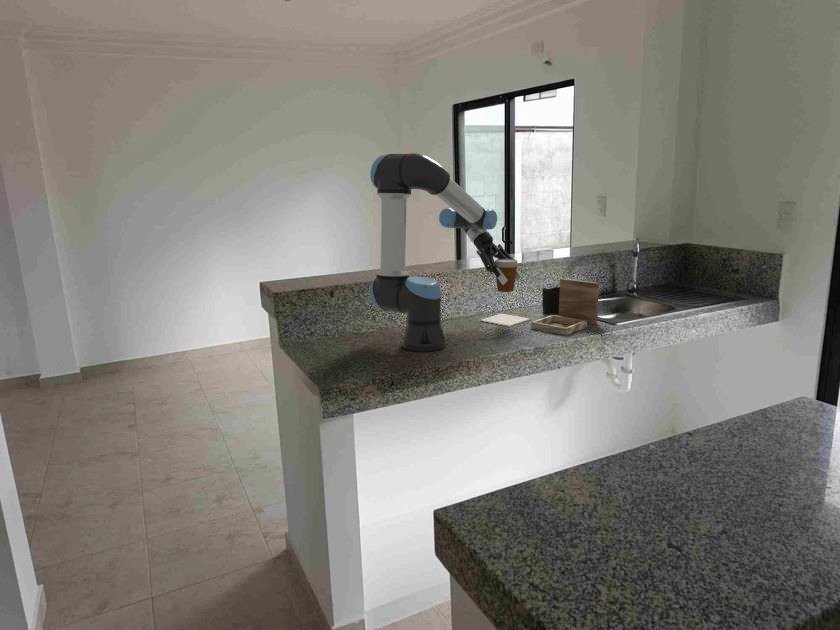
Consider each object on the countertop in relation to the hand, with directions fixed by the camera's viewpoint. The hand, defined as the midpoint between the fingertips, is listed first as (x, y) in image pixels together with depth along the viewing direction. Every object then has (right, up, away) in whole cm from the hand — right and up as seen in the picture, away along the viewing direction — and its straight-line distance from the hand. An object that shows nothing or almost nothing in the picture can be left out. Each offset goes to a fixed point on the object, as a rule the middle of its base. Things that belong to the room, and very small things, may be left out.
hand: (512, 280), depth 236 cm
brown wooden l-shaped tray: (+19, -17, -3) cm, 26 cm away
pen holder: (+20, -12, +19) cm, 30 cm away
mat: (-2, -16, +6) cm, 17 cm away
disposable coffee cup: (-2, -4, +3) cm, 6 cm away
